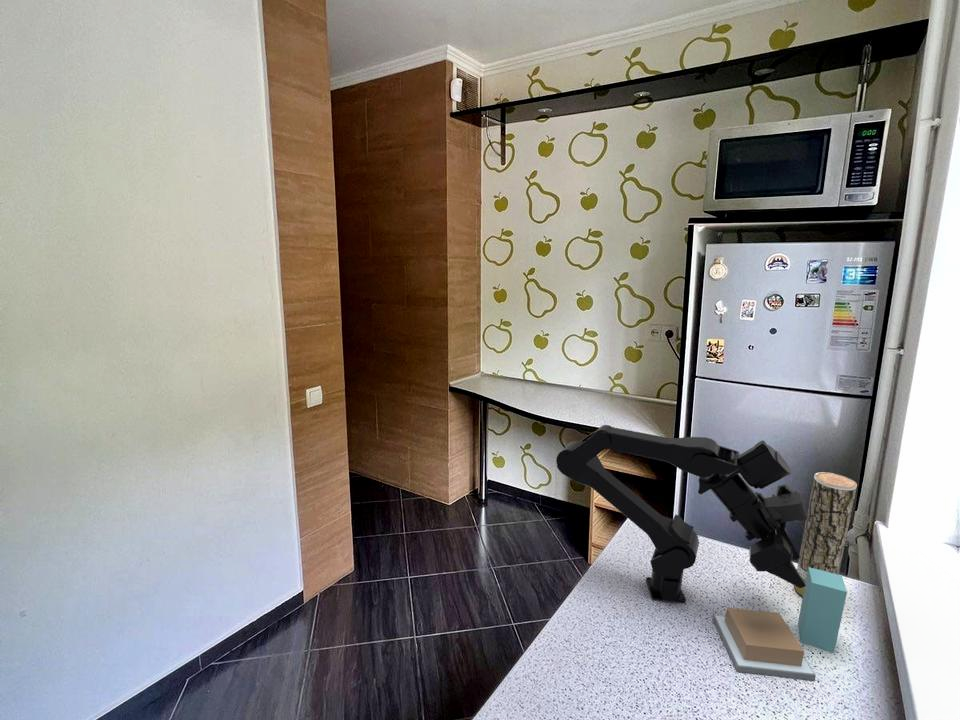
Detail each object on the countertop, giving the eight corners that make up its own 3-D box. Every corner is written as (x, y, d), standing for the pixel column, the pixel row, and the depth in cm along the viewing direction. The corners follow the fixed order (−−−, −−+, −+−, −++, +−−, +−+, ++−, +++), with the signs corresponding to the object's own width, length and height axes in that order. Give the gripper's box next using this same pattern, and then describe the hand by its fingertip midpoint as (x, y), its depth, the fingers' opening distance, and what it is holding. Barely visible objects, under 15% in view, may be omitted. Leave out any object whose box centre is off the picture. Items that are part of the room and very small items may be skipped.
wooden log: (832, 610, 98) (856, 491, 93) (791, 595, 102) (812, 480, 97) (834, 592, 103) (857, 479, 98) (795, 578, 107) (815, 469, 102)
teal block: (800, 642, 90) (812, 582, 87) (797, 624, 94) (808, 567, 91) (834, 653, 88) (847, 592, 85) (829, 634, 92) (841, 575, 89)
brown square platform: (712, 619, 95) (715, 600, 94) (780, 626, 93) (784, 607, 92) (736, 671, 83) (740, 650, 82) (814, 680, 82) (819, 659, 81)
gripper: (784, 500, 81) (855, 583, 78) (776, 459, 97) (835, 526, 94) (723, 531, 86) (788, 610, 83) (725, 487, 102) (780, 552, 100)
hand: (800, 571), depth 90 cm, fingers open, 9 cm apart
